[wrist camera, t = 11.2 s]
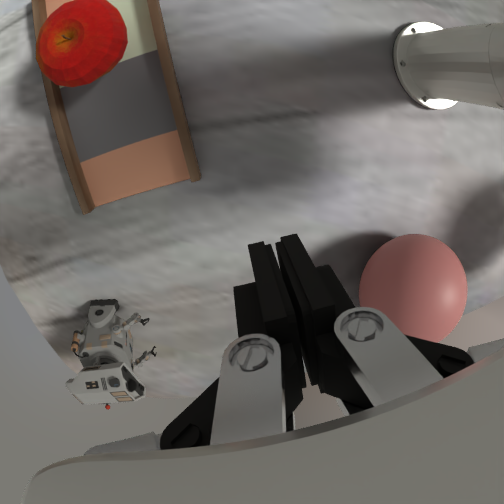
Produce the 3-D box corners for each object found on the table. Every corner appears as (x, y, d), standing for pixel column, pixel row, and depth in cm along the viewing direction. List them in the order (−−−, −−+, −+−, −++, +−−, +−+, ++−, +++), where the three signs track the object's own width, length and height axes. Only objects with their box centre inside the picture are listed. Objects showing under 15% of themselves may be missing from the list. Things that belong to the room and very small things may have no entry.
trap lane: (148, -52, 21) (144, -59, 19) (201, 175, 36) (200, 180, 34) (39, -4, 21) (31, -7, 19) (89, 208, 36) (83, 214, 34)
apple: (82, 7, 23) (38, -16, 13) (150, 18, 26) (130, -9, 16) (56, 78, 27) (4, 84, 17) (122, 90, 30) (89, 97, 20)
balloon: (345, 335, 50) (379, 406, 37) (339, 229, 41) (392, 295, 27) (422, 309, 50) (466, 367, 37) (431, 207, 41) (499, 256, 27)
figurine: (165, 341, 47) (156, 421, 34) (100, 342, 46) (77, 415, 33) (154, 295, 43) (136, 376, 29) (83, 298, 42) (48, 371, 28)
